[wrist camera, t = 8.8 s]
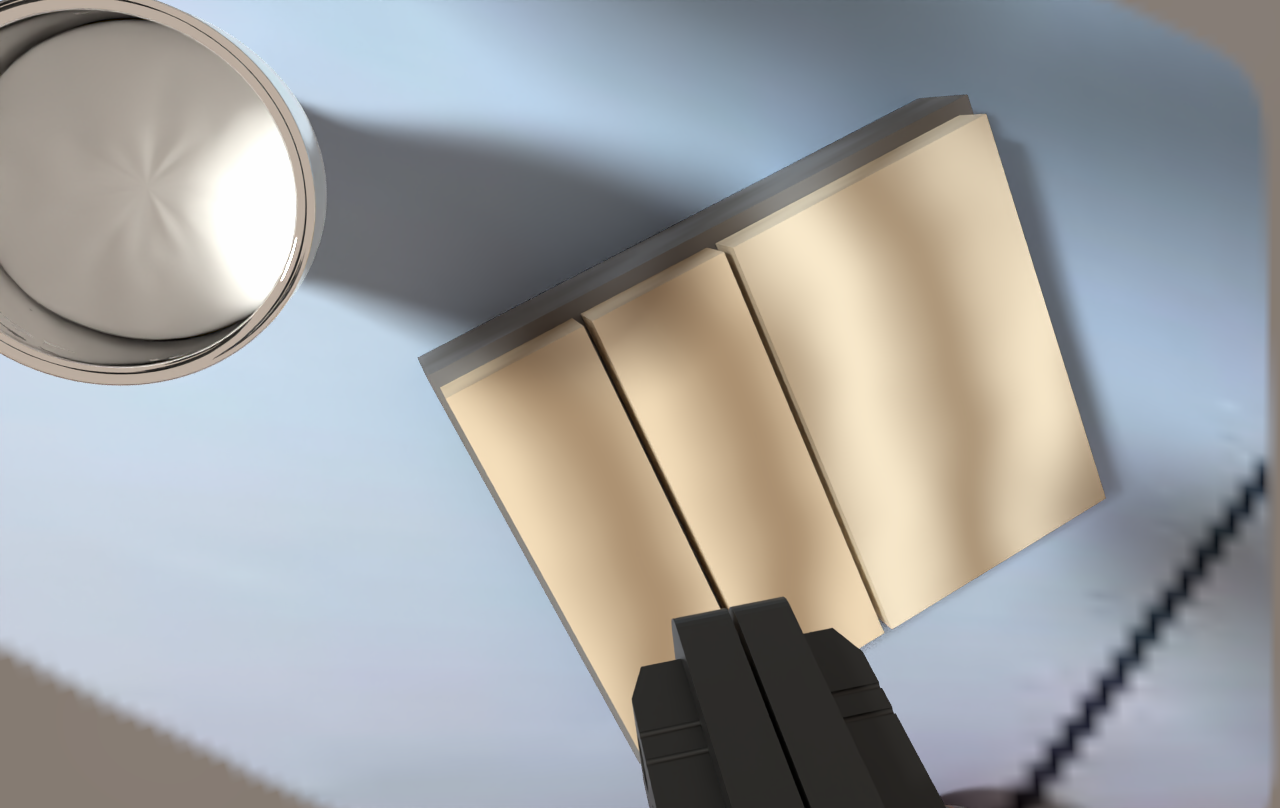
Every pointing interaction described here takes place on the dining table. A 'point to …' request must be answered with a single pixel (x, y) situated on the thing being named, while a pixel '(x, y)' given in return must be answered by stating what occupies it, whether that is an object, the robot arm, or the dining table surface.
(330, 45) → the dining table surface
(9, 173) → the metal can
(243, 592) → the dining table surface
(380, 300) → the dining table surface
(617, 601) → the floor board
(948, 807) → the vase
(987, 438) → the oak plank
